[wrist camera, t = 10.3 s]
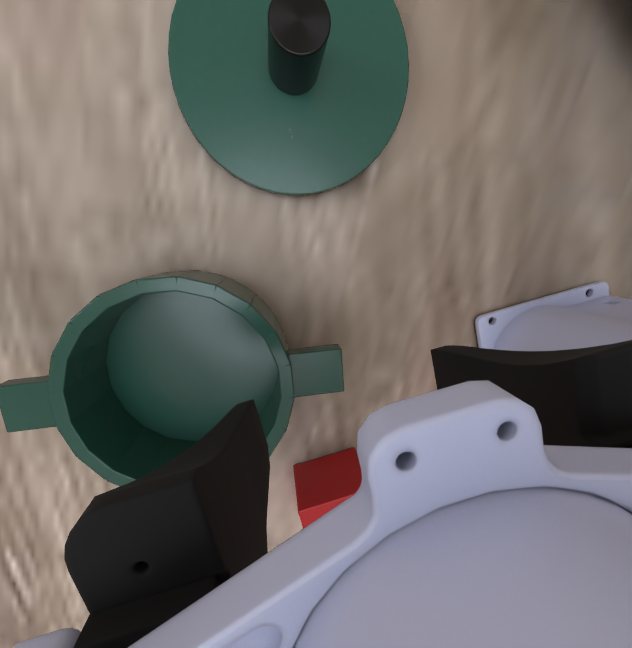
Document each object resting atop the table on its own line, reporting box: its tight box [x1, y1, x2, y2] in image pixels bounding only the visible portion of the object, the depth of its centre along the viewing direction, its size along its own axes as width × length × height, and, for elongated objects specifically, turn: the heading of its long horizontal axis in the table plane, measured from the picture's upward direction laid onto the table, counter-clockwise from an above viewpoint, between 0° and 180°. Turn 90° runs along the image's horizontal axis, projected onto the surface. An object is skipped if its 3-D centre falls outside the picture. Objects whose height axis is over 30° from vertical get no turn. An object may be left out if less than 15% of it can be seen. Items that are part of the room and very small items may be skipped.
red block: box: [293, 448, 362, 529], centre depth 23 cm, size 4×4×4 cm
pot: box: [0, 270, 344, 486], centre depth 20 cm, size 11×17×5 cm
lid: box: [168, 0, 409, 195], centre depth 17 cm, size 12×12×5 cm
